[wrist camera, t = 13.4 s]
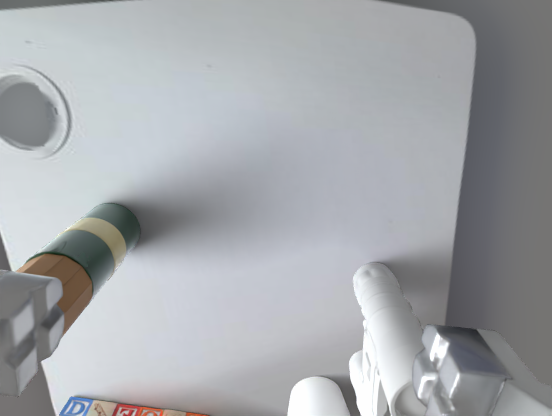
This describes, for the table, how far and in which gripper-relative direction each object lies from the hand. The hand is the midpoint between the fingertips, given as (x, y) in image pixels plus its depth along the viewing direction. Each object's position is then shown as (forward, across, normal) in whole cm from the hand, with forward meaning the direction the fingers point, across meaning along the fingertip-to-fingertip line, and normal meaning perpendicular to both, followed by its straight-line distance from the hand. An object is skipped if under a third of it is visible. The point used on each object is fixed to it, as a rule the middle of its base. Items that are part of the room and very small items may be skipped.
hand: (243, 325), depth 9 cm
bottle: (+33, +16, +14) cm, 40 cm away
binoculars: (+33, -15, +22) cm, 43 cm away
